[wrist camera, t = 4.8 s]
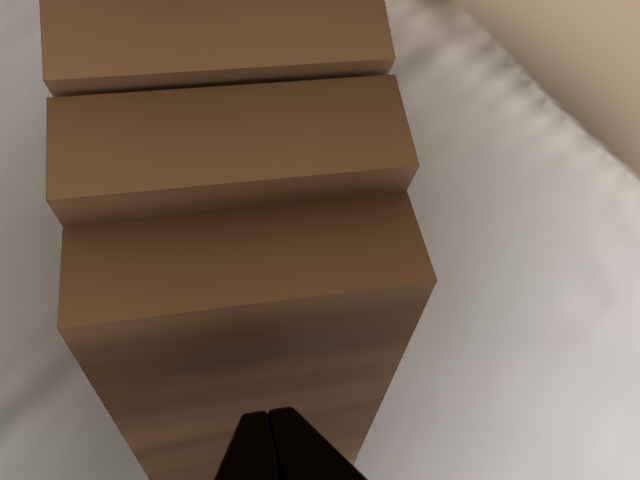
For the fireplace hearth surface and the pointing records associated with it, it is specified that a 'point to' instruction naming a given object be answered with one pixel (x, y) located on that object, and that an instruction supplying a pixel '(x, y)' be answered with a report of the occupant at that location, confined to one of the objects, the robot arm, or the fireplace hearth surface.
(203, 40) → the domino
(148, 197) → the domino
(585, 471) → the fireplace hearth surface
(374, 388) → the domino
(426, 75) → the fireplace hearth surface
